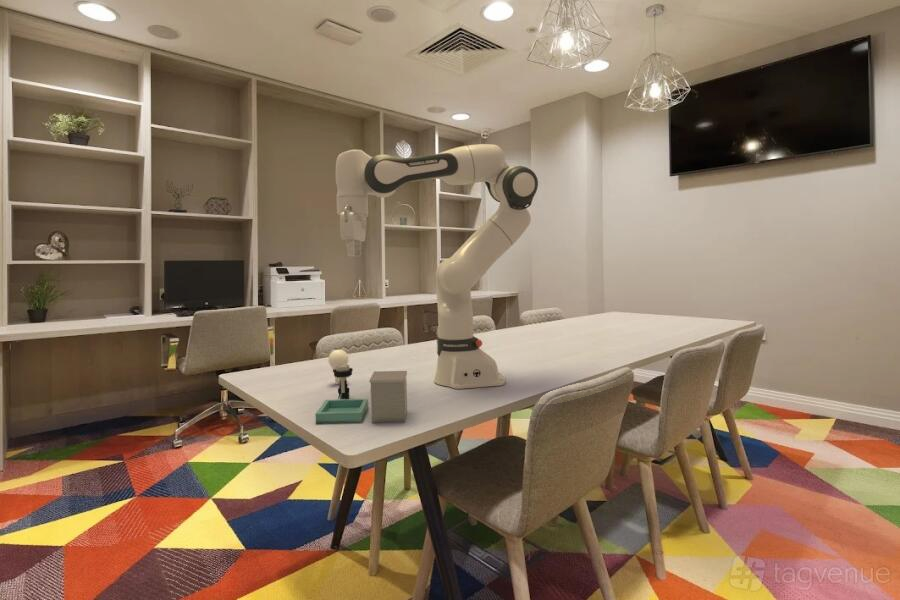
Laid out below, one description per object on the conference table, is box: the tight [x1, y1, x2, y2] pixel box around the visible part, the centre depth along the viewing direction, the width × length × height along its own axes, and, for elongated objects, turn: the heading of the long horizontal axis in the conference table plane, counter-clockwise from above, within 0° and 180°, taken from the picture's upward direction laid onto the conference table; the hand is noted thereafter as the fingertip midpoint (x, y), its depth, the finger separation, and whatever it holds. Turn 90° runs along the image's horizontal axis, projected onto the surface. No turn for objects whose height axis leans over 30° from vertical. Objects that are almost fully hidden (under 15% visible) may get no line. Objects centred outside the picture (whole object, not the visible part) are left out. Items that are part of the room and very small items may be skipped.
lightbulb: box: [328, 349, 350, 385], centre depth 147 cm, size 6×6×11 cm
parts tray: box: [314, 398, 369, 425], centre depth 118 cm, size 11×11×2 cm
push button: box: [332, 364, 353, 400], centre depth 129 cm, size 7×5×10 cm
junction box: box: [369, 370, 408, 424], centre depth 116 cm, size 9×8×11 cm
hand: (354, 256), depth 136 cm, fingers open, 8 cm apart
